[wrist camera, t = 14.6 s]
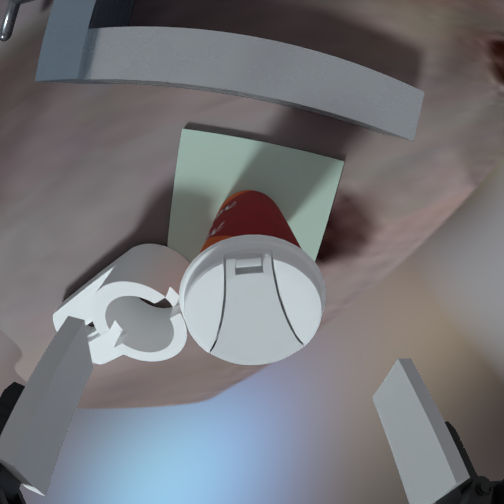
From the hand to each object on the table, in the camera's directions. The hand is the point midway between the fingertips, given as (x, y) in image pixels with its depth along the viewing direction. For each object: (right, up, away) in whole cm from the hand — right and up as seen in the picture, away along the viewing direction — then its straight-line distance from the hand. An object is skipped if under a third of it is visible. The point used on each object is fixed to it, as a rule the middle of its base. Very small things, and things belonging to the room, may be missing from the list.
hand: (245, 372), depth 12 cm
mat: (0, +8, +16) cm, 18 cm away
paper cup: (0, +8, +16) cm, 18 cm away
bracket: (-14, -1, +20) cm, 25 cm away
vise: (-4, +27, +7) cm, 28 cm away
